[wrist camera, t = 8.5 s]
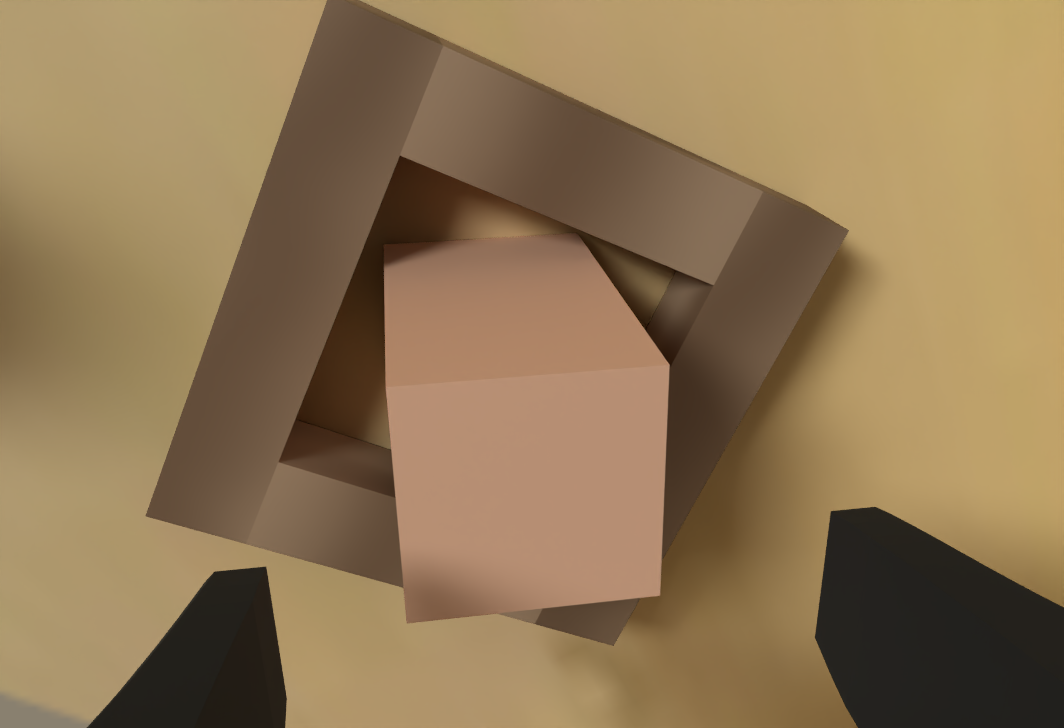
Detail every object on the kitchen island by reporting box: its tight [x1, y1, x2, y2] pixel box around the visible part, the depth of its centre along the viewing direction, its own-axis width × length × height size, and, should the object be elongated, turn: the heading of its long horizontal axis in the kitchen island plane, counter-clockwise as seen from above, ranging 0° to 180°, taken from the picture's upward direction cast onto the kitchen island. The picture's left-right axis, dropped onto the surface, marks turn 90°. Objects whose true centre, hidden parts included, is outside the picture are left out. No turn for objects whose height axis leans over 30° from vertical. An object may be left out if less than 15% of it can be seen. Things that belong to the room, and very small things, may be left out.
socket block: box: [146, 0, 849, 646], centre depth 20 cm, size 10×10×2 cm
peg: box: [384, 233, 670, 623], centre depth 17 cm, size 4×4×7 cm
